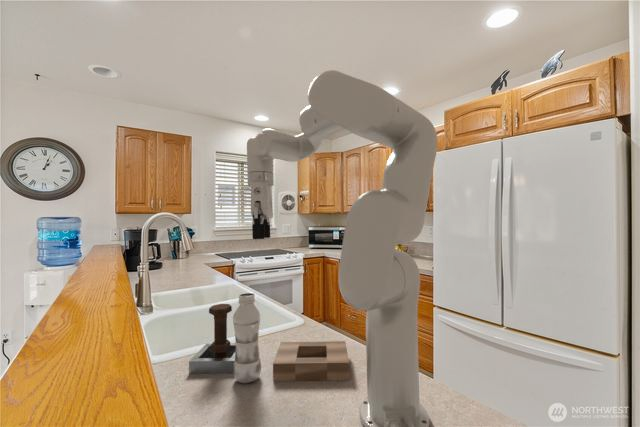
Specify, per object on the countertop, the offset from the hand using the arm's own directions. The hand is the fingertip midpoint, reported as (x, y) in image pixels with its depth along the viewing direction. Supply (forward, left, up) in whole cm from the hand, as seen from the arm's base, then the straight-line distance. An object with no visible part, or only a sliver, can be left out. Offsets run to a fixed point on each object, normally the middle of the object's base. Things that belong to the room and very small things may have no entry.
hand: (262, 238), depth 81 cm
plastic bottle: (-13, +1, -33) cm, 36 cm away
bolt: (-5, +10, -33) cm, 35 cm away
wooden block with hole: (-8, -14, -33) cm, 37 cm away
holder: (-5, +11, -33) cm, 35 cm away
